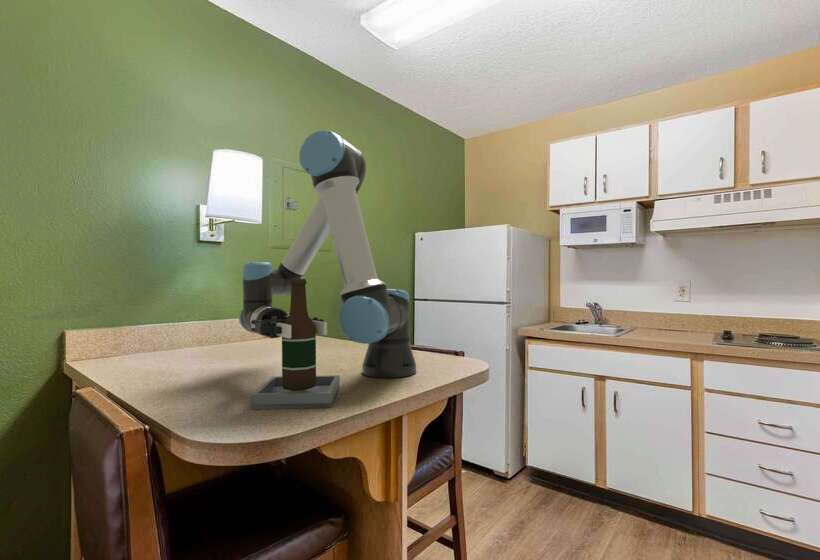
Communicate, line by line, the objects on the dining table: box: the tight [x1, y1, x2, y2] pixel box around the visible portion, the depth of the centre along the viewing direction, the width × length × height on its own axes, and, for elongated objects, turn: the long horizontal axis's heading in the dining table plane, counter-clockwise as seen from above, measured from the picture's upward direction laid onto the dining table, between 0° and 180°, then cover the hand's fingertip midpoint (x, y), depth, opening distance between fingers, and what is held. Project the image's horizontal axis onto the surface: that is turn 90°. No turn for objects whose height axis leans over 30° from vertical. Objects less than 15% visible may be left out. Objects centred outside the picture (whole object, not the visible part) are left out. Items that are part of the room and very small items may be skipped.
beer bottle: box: [281, 278, 317, 391], centre depth 94 cm, size 8×8×24 cm
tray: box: [250, 374, 341, 410], centre depth 94 cm, size 16×16×3 cm
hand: (308, 330), depth 90 cm, fingers closed on beer bottle, 7 cm apart
